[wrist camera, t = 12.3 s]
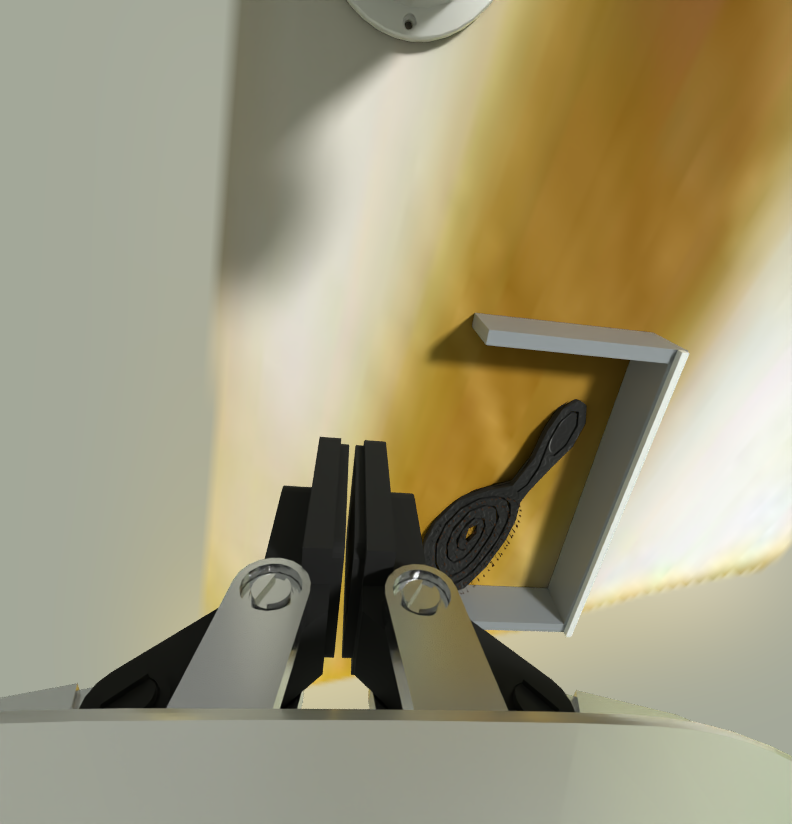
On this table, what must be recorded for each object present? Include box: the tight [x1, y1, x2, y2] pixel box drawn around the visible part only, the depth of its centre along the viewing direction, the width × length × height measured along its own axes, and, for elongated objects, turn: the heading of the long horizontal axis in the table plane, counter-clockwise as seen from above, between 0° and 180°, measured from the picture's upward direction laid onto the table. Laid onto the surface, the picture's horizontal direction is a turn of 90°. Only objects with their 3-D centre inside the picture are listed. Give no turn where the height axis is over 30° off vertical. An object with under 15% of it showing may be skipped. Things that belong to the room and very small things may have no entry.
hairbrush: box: [423, 399, 587, 595], centre depth 48 cm, size 8×4×25 cm
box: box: [458, 313, 689, 637], centre depth 45 cm, size 32×16×6 cm, turn 173°
